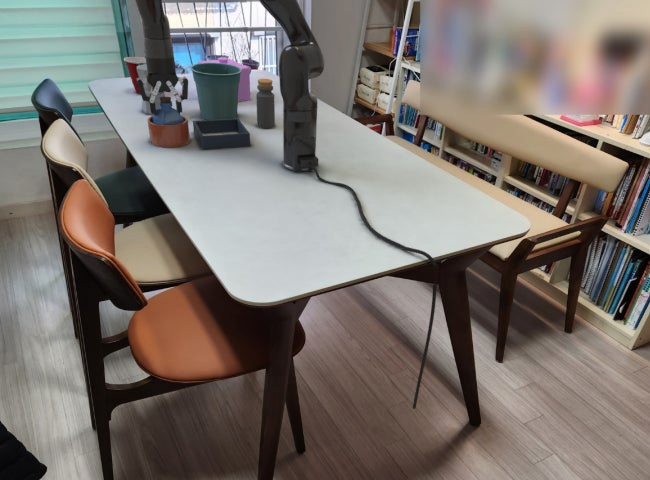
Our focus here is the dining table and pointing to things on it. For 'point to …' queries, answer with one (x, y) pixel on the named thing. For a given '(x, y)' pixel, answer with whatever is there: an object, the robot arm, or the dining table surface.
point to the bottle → (265, 104)
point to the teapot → (244, 77)
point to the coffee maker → (148, 90)
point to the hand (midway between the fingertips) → (167, 114)
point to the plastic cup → (134, 69)
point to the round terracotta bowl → (169, 133)
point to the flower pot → (217, 89)
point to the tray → (221, 140)
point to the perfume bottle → (167, 113)
